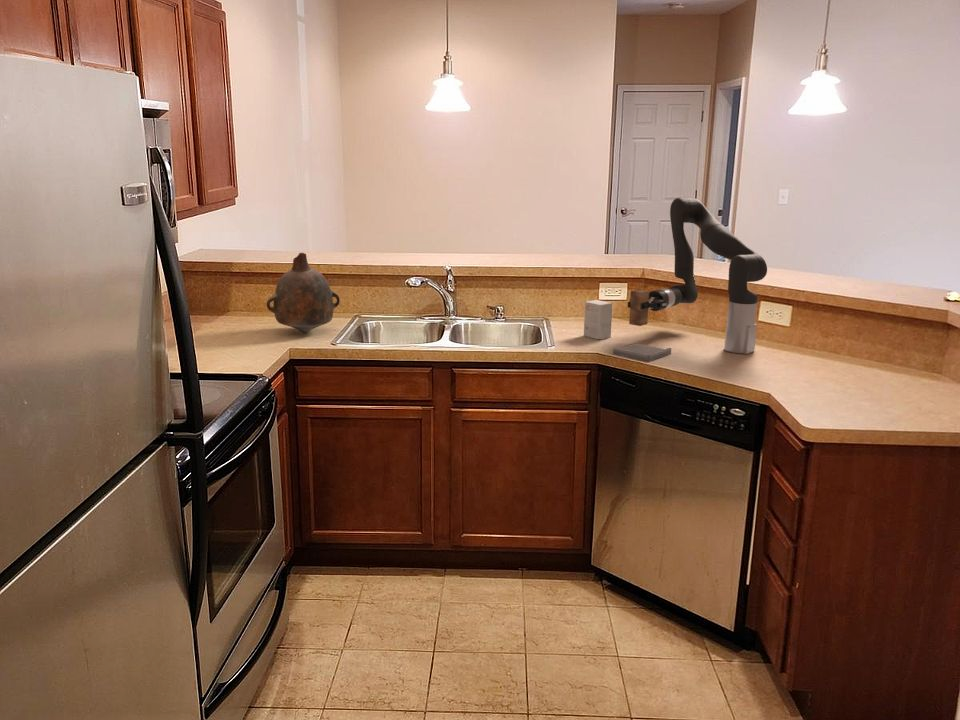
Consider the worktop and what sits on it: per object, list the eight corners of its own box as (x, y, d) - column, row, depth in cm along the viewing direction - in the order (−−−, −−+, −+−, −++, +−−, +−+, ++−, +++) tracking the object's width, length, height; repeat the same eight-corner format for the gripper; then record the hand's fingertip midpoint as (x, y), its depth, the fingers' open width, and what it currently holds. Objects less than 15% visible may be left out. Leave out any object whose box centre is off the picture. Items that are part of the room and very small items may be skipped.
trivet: (670, 353, 268) (671, 348, 267) (648, 361, 258) (649, 355, 257) (635, 346, 277) (636, 340, 277) (613, 353, 267) (613, 347, 267)
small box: (611, 337, 289) (613, 302, 286) (599, 340, 285) (601, 305, 282) (594, 333, 295) (596, 299, 292) (583, 335, 291) (584, 301, 288)
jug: (310, 322, 307) (307, 245, 299) (349, 330, 295) (346, 250, 287) (259, 334, 288) (254, 252, 280) (298, 343, 276) (293, 258, 268)
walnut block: (647, 324, 280) (649, 290, 277) (640, 326, 277) (641, 292, 274) (636, 322, 283) (637, 289, 280) (629, 324, 280) (630, 290, 277)
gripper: (644, 287, 292) (618, 292, 280) (678, 291, 283) (653, 297, 271) (643, 307, 294) (617, 313, 282) (677, 312, 285) (652, 318, 273)
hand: (635, 305), depth 277 cm, fingers closed on walnut block, 4 cm apart
